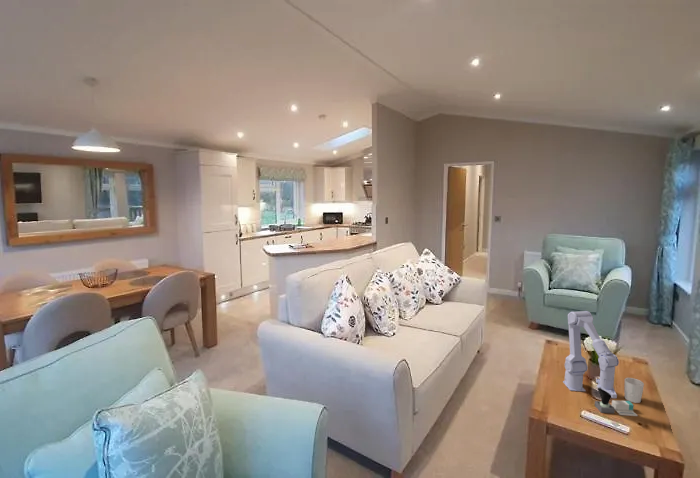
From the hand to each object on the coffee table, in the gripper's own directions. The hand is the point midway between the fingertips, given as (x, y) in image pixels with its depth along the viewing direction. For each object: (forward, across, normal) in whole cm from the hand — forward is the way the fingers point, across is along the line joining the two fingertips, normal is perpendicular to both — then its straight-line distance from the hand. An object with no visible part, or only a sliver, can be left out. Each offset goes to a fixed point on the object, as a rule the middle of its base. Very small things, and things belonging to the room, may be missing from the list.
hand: (604, 403), depth 180 cm
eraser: (+3, -1, +9) cm, 9 cm away
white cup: (+3, -11, +19) cm, 22 cm away
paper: (+3, 0, +9) cm, 10 cm away
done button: (+4, 0, 0) cm, 4 cm away
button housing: (+3, 0, 0) cm, 3 cm away
